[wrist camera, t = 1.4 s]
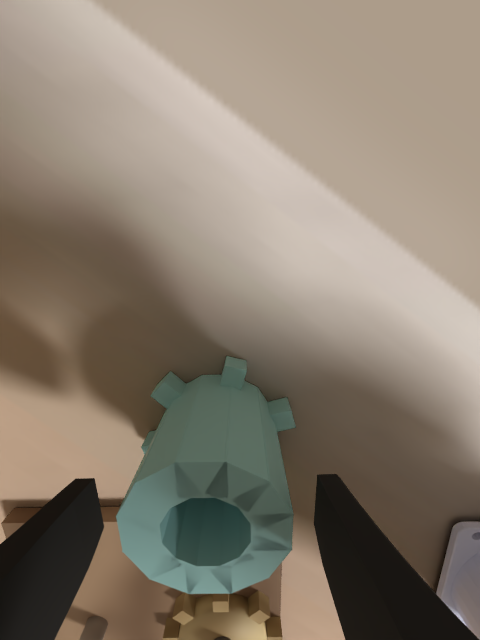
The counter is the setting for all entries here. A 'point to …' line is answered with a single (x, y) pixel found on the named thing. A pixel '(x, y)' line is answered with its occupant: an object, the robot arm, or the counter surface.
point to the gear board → (157, 600)
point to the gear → (210, 486)
